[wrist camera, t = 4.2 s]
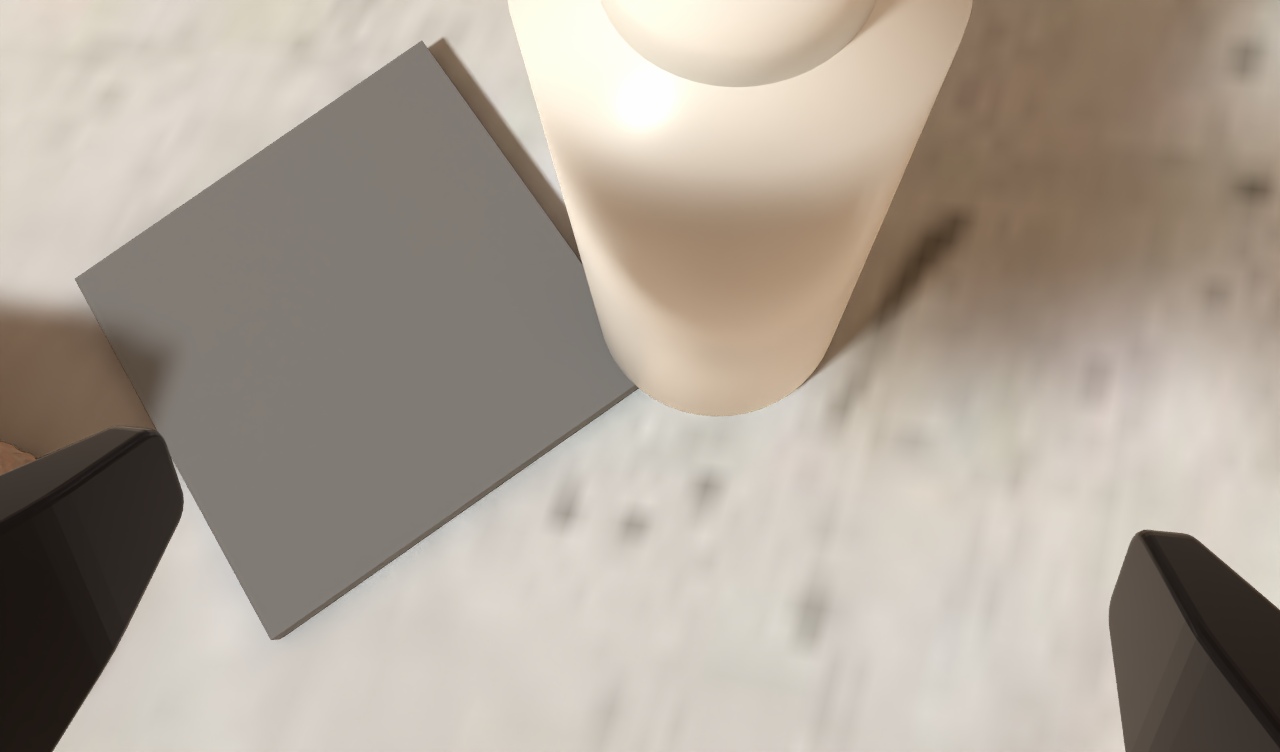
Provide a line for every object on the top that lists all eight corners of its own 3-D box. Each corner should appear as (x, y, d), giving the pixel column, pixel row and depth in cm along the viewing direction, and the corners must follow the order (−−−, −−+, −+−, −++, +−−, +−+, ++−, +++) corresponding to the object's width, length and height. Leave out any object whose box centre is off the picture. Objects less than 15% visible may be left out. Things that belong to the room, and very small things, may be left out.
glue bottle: (689, 464, 21) (675, 70, 7) (552, 274, 22) (303, -385, 8) (887, 325, 21) (1253, -302, 7) (742, 149, 23) (818, -668, 9)
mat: (280, 639, 21) (270, 639, 21) (86, 283, 24) (74, 278, 24) (659, 373, 22) (657, 369, 21) (427, 49, 24) (422, 40, 24)
